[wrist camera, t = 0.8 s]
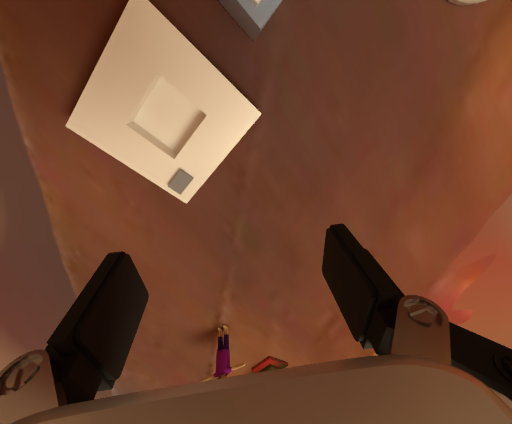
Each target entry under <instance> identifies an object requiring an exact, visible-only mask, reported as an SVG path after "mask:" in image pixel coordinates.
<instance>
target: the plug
mask: <svg viewBox="0 0 512 424" xmlns="http://www.w3.org/2000/svg"><path fill="white" fill-rule="evenodd" d="M218 1H219V2H220V3H221V5H222V6H223V7H224V8H225V9H226V10H227V12H228V13H229V14H230V15H231V16H232V17H233V19H234V20H235V21H236V22H237V23H238V24H239V26H240V27H241V28H242V29H243V30H244V31H245V32H246V34H247V35H248V36H249V37H250V38H251V39H252V41H254V39H255V38H256V37H257V35H258V34H259V33H260V31H261V30H262V28H263V27H264V26H265V24H266V23H267V22H268V20H269V19H270V18H271V16H272V15H273V13H274V12H275V11H276V9H277V8H278V6H279V5H280V4H281V2H282V1H283V0H218Z"/></svg>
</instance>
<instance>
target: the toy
mask: <svg viewBox="0 0 512 424" xmlns="http://www.w3.org/2000/svg"><path fill="white" fill-rule="evenodd" d="M223 328H224V345H223V330H222V329H221V328H220V327H218V328H217V329H218V331H219V337H218V350H217V357H216V373H215V374H213V375H211V376H208V377H206V378H203V379H201V382H202V381H207V380H209V379H212V378H215V377H219V378H217V379H221V378H227V377H226V375H228V374H229V373H230V372H231V371H233V370H235V369H238V368H240V367H243V366H245V363H242V364H239V365H236V366H234V367H230V352H229V335H228V327H227V326H226V325H223Z"/></svg>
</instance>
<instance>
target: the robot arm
mask: <svg viewBox="0 0 512 424" xmlns="http://www.w3.org/2000/svg"><path fill="white" fill-rule="evenodd" d="M448 1H449V2H451V3H454V4H456V5H472V4H477V3H480V2H483V1H486V0H448ZM322 272H323V275H324V278H325V280H326V282H327V284H328V286H329V288H330V290H331V292H332V294H333V296H334V298H335V300H336V302H337V304H338V306H339V308H340V310H341V313H342V315H343V317H344V319H345V321H346V323H347V325H348V327H349V329H350V331H351V333H352V335H353V337H354V339H355V340H356V341H357V342H359V341H360V343H361V345H362V347H363V349H369V348H373V349H374V351H375V353H376V354H378V356H367V357H359V358H352V359H345V360H337V361H330V362H323V363H317V364H310V365H304V366H297V367H291V368H284V369H278V370H271V371H265V372H258V373H252V374H246V375H240V376H233V377H227V378H221V379H215V380H208V381H202V382H196V383H190V384H184V385H178V386H172V387H165V388H159V389H153V390H147V391H141V392H135V393H129V394H123V395H117V396H112V397H106V398H101V399H96V400H94V397H95V395H96V393H97V391H103V390H110V389H112V388H113V385H114V383H115V380H116V379H118V378H119V377H120V375H121V373H122V370H123V367H124V365H125V362H126V359H127V356H128V354H129V351H130V348H131V345H132V343H133V340H134V337H135V334H136V332H137V329H138V326H139V323H140V321H141V318H142V315H143V312H144V310H145V307H146V304H147V301H148V291H147V289H146V287H145V285H144V283H143V281H142V279H141V277H140V275H139V273H138V271H137V269H136V267H135V265H134V263H133V261H132V259H131V257H130V255H129V254H126V253H125V252H114V253H109V254H108V255H107V256H106V257H105V259H104V260H103V262H102V263H101V264H100V266H99V267H98V269H97V270H96V272H95V273H94V275H93V276H92V277H91V279H90V280H89V282H88V283H87V285H86V286H85V288H84V289H83V290H82V292H81V293H80V295H79V296H78V298H77V299H76V301H75V302H74V304H73V305H72V307H71V308H70V309H69V311H68V312H67V314H66V315H65V317H64V318H63V320H62V321H61V323H60V324H59V325H58V327H57V328H56V330H55V331H54V333H53V334H52V335H51V337H50V338H49V340H48V341H47V343H48V346H47V347H46V349H45V350H42V349H39V350H33V351H30V352H27V353H25V354H23V355H22V356H19V357H18V358H16V359H15V360H14V361H12V362H11V363H9V364H8V365H7V366H6V367H5V368H4V369H3V370H2V371H1V372H0V424H512V349H510V348H507V347H505V346H503V345H501V344H498V343H496V342H494V341H491V340H489V339H487V338H485V337H482V336H480V335H478V334H476V333H473V332H471V331H469V330H466V329H464V328H462V327H460V326H457V325H455V324H453V323H450V322H449V320H448V317H447V315H446V314H445V312H444V311H443V310H442V309H441V308H440V307H439V306H438V305H437V304H435V303H434V302H432V301H431V300H429V299H427V298H424V297H421V296H417V295H407V296H405V295H404V294H403V293H402V292H401V290H400V289H399V288H398V287H397V286H396V284H395V283H394V282H393V281H392V279H391V278H390V277H389V276H388V275H387V273H386V272H385V271H384V270H383V268H382V267H381V266H380V265H379V264H378V262H377V261H376V260H375V259H374V257H373V256H372V255H371V254H370V253H369V251H368V250H366V249H364V248H363V247H362V246H361V245H360V243H359V242H358V241H357V240H356V238H355V237H354V236H353V235H352V233H351V232H350V231H349V230H348V228H347V227H346V226H345V225H344V224H335V225H331V226H330V228H328V229H327V230H326V238H325V247H324V256H323V265H322Z"/></svg>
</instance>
